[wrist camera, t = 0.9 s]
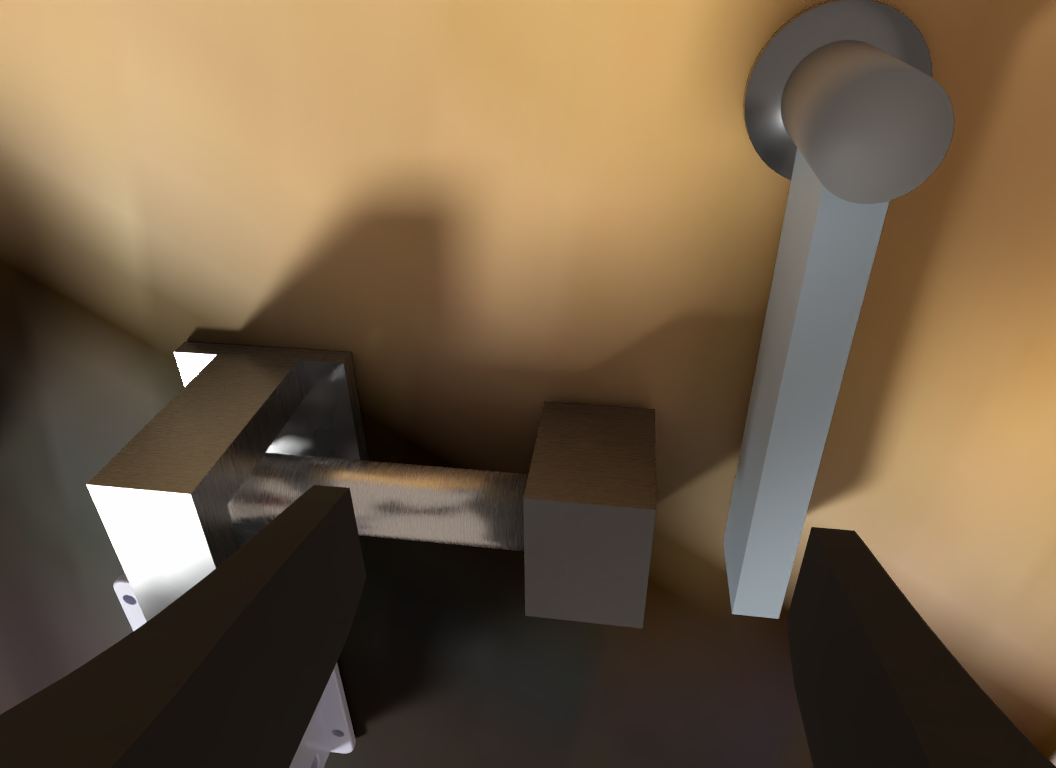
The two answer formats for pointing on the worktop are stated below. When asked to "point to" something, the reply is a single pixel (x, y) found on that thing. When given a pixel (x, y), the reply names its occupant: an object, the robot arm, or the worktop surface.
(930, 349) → the worktop surface
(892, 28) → the base
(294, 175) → the worktop surface
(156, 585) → the eye bracket
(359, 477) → the hook rod
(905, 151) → the grey lever bar
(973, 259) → the worktop surface
